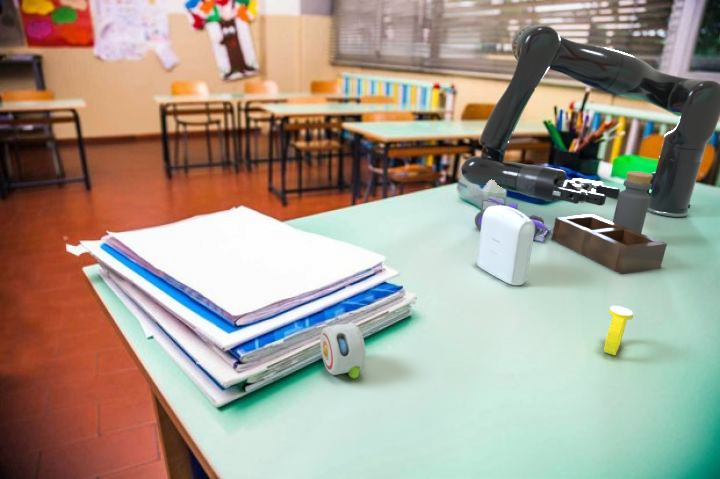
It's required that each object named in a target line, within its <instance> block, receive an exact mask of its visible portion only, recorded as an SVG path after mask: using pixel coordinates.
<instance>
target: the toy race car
mask: <svg viewBox="0 0 720 479" xmlns="http://www.w3.org/2000/svg"><path fill="white" fill-rule="evenodd" d="M496 205H502V206H508V207H511V208H514V209H516V210H518V204H517V203H513V202H512V203H509V204H507V205H506V199H505V198H504V197H500V196H495V195H489V196H488V199H487V200H486V199H482V203H481V210H480V211H479V212H477V214H476V215H475V217H474V224H475V227H476V228H477V229H478V230H479V231H481V224H482V217H483V214H484V211H485V210H486V209H487V208H488V207H490V206H496ZM528 218H529V219H530V220H531V221H532V222H533V223H534V226H535V232H534V238H533V241H536V242H541V243H544V241H545V238H546V236H547V235H550V234H551V233H552V229H550V228H548V227H547V226H546V225H545V220H544V218H543V217H542V216H541V215H539V214H532V215H530V216H529V217H528ZM540 231H541V233H540V235H539V234H537V233H538V232H540Z"/></svg>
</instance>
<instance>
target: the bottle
mask: <svg viewBox="0 0 720 479" xmlns="http://www.w3.org/2000/svg"><path fill="white" fill-rule="evenodd" d="M651 174H652V173H648V172H645V171H634V170H633V171H631V170H630V171H627V172H626V179H624V181H623V186H624V187H625V188H624V189H622V190H620V193H619V197H618V199H617V201H616V205H615V208H614V213H613V219H612V222H613V223H616V224H618V225H621V226H623V227H626V228H628V229H631V230H633V231H636V232H638V233H641V234H643V233H642V232H643V229H644V224H645V220H646V217H647V213H648V210H647V209H648V205H649V201H650V196H649V194H647V190H649V189H651V185H652V184H651V183H650V181H651V179H652V177H653V175H651Z"/></svg>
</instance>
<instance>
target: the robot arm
mask: <svg viewBox="0 0 720 479" xmlns="http://www.w3.org/2000/svg"><path fill="white" fill-rule="evenodd" d="M511 51H512V56H513V58H515V60H516V61H517V63H516V66H515V71H514V73H513V75H512V78H511V80H510V82H509V83H508V86H507V87H506V89H505V91H504V92H503V94H502V95H501V96H500V98H499V100H498V101H497V102H496V103H495V105H494V107H493V109H492V110H491V112H490V114H489V116H488V118H487V121H486V123H485V125H484V127H483V129H482V132H481V134H480V137H479V143H480V145H481V146H482V148H481V153H480V155H474V156H473V155H472V156H471V157H468V158H466V160H464V162H463V164H462V165H461V175H462V177H463V178H464V179H465V181H467V182H468V183H469V184H472V185H476V186H477V185H478V186H483V187H485V186H484V185H486V183H487V182H488V181H489V180H491V179H492V180H495V182H496V183H497V185H499V186H500V187H502V188H503V189H502V188H501V189H502V190H505V191H509V192H513V193H518V194H522V195H525V196H527V197H531V198H535V199H540V200H544V201H547V202H553V203H556V202H558V201H559V200H560V201H562V202H568V203H572V204H575V205H576V204H577V205H578V204H579V203H581V204H584V203H587V204H592V205H596V206H600V207H601V206H604V205H605V203H606V199H607V198H610V199H617V200H618V197H619V193H620V192H621V190H620V188H618V187H612V186H607V185H604V182H602V181H596V180H591V179H585V178H581V177H577V178H572V179H571V180H568V179H567V178H568V177H567V173H566V171H564V170H563V169H558V168H553V167H548V166H543V165H537V164H536V165H535V164H525V163H520V162H515V161H504V160H505V156H506V151H507V150H506V149H507V146H508V145H509V143H510V141H511V139H512V136H513V135H514V132H515V130H516V127H517V125H518V123H519V121H520V119H521V116H522V114H523V113H524V111H525V109H526V107H527V105H528V103H529V101H530V100H531V98H532V96H533V94H534V93H535V91H536V90H537V88H538V86H539V84H540V82H541V81H542V79H543V78H544V76H545V75H546V73H547V72H548V71H549V70H551V71H555V72H557V73H561V74H563V75H565V76H567V77H569V78H571V79H573V80H575V81H578V82H579V83H582V84H583V85H586V86H589V87H591V88H593V89H596V90H599V91H601V92H605V93H607V94H611V95H614V96H618V97H621V98H625V99H631V100H636V101H643V102H645V103H648V104H651V105H653V106H656V107H658V108H660V109H662V110H664V111H666V112H669V113H670V114H672V115H674V116H677V117H679V119H678V122H677V125H676V127H675V128H674V129H673V130H671V131H668V132H667V133H665V134H664V137H663V140H662V145H661V148H660V152H659V155H658V160H657V163H656V166H655V167H656V168H655V172H651V173H650V174H651V175H653V177H652V179H651V181H650V183H651V184H652V185H651V189H649V190H647V194H649V196H650V201H649V205H648V209H647V212H650V213H653V214H655V215H658V216H659V215H660V216H663V217H671V218H684V217H687V215H688V211H689V210H690V209H691V206H692V205H691V201H692V197H693V194H694V190H695V186H696V182H697V179H698V175H699V172H700V168H701V165H702V162H703V159H704V155H705V150H706V147H707V144H708V143H709V141H710V140H711V139H712V137H713V136H714V134H715V131H716V128H717V127H718V123H719V120H720V82H718V81H715V80H713V79H712V80H711V79H701V78H688V77H681V76H675V75H672V74H668V73H665V72H661V71H659V70H657V69H655V68H654V67H653V66H652V65H650V64H649V63H648V62H645V61H644V60H642V59H641V58H638V57H636V56H633V55H631V54H628V53H625V52H623V51H619V50H615V49H611V48H607V47H603V46H598V45H593V44H587V43H582V42H575V41H573V40H569V39H567V38H565V37H563V36H560V35H559V33H558V31H557V30H556V29H555V28H553V27H551V26H548V25H543V24H531V25H527V26H525V27H523V28H521V29H520V30H519V31H517V33H516V34H515V35H514V37H513V39H512V41H511Z"/></svg>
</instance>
